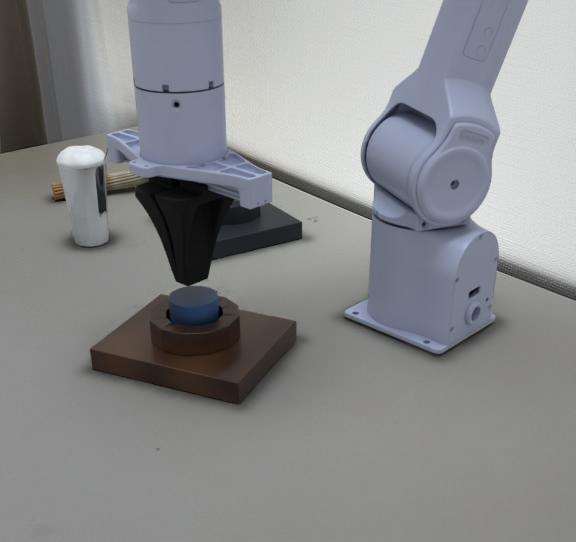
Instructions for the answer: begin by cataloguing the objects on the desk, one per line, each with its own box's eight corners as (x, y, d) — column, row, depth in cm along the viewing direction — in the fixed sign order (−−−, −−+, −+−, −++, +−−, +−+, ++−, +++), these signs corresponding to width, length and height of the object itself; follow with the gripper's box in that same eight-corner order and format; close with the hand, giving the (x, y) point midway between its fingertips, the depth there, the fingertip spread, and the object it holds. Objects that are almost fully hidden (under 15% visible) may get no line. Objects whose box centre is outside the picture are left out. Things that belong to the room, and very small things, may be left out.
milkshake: (113, 252, 82) (101, 146, 77) (60, 247, 83) (44, 143, 78) (130, 234, 86) (119, 132, 81) (79, 230, 87) (65, 129, 82)
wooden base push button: (296, 340, 67) (296, 299, 65) (239, 404, 59) (237, 359, 58) (162, 312, 71) (159, 273, 69) (91, 369, 64) (85, 326, 62)
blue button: (227, 311, 65) (227, 290, 64) (204, 332, 62) (203, 310, 61) (185, 303, 66) (184, 282, 65) (160, 323, 63) (158, 301, 62)
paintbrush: (232, 155, 98) (53, 184, 92) (234, 179, 99) (58, 209, 93) (222, 146, 101) (48, 173, 95) (224, 169, 102) (52, 197, 97)
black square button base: (302, 238, 85) (302, 203, 83) (210, 259, 80) (209, 223, 79) (243, 202, 94) (242, 170, 92) (157, 220, 89) (155, 186, 87)
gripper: (60, 75, 57) (86, 267, 64) (208, 115, 48) (219, 331, 55) (145, 60, 61) (160, 241, 68) (295, 93, 53) (295, 296, 60)
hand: (192, 279), depth 62 cm, fingers closed
